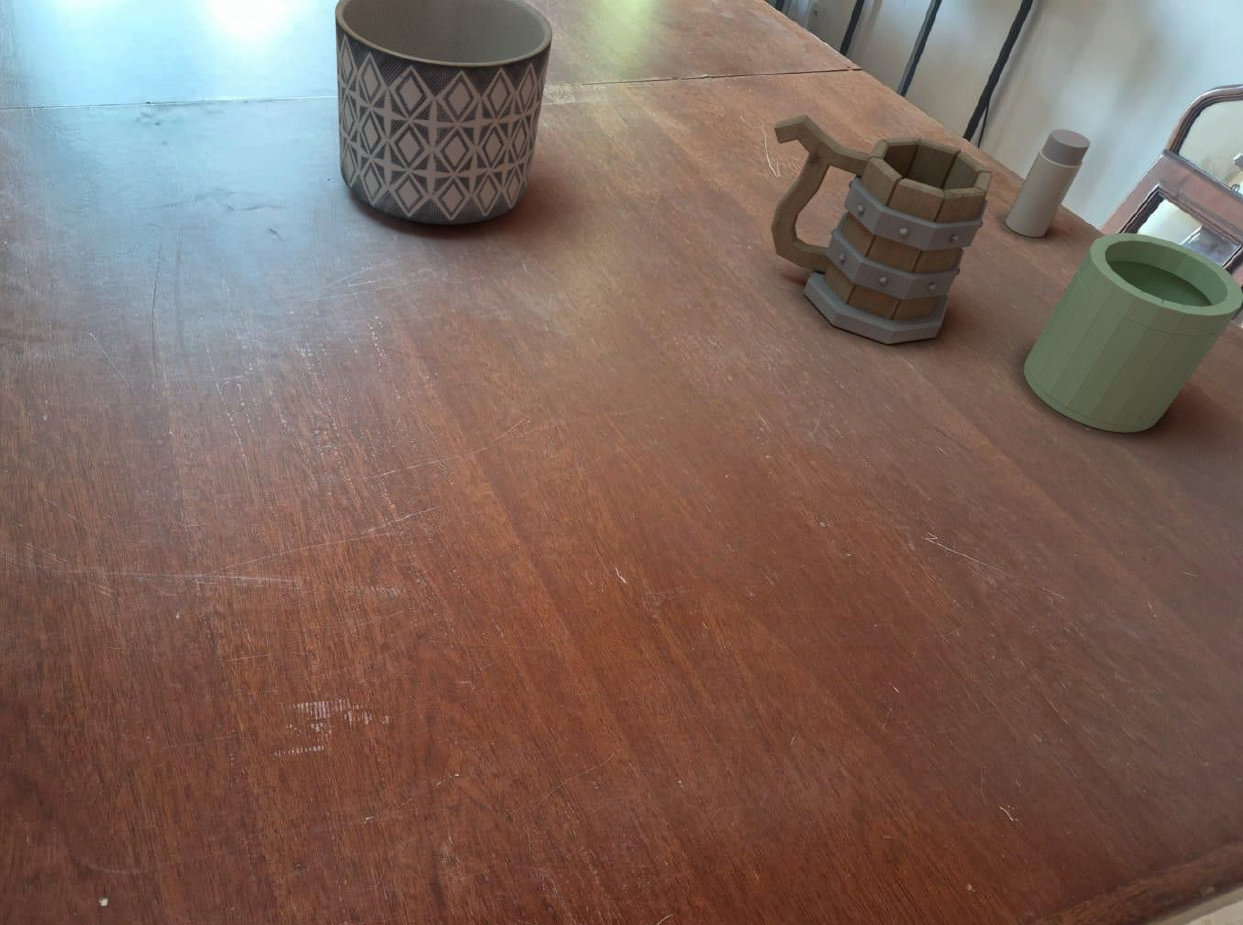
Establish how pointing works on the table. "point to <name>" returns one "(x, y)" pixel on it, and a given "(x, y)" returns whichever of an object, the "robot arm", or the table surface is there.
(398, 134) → the planter
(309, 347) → the table surface
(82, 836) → the table surface
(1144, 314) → the jar
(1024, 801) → the table surface
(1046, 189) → the salt shaker
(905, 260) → the tankard
